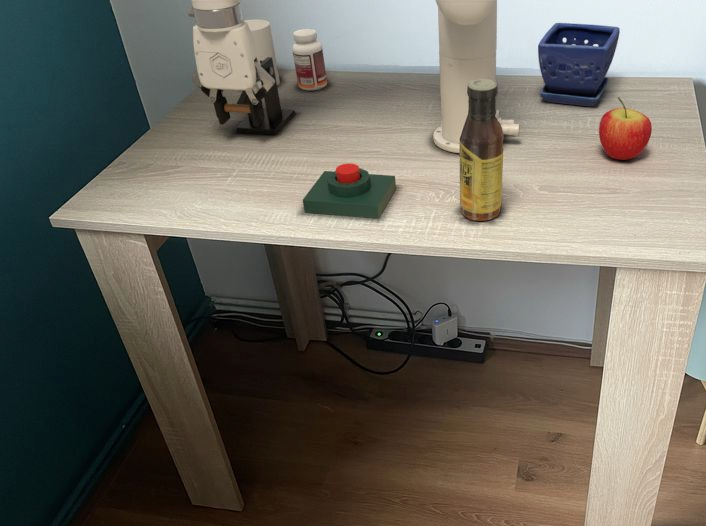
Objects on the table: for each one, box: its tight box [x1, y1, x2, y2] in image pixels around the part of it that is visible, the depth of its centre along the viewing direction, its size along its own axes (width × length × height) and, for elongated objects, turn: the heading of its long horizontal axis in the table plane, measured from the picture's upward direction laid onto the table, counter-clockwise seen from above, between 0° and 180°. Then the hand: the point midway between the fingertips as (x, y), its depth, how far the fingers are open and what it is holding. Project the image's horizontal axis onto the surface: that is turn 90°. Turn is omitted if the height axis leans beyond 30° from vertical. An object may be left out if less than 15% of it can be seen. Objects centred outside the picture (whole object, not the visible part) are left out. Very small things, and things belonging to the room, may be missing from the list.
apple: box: [598, 96, 653, 161], centre depth 120 cm, size 8×8×10 cm
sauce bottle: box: [459, 79, 504, 222], centre depth 104 cm, size 6×6×20 cm
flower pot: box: [537, 22, 621, 107], centre depth 141 cm, size 13×13×12 cm
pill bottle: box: [291, 28, 328, 92], centre depth 151 cm, size 6×6×11 cm
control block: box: [302, 167, 397, 219], centre depth 114 cm, size 12×10×4 cm
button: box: [335, 162, 360, 183], centre depth 112 cm, size 4×4×2 cm
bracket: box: [235, 57, 297, 136], centre depth 136 cm, size 10×8×12 cm
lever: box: [224, 60, 262, 114], centre depth 131 cm, size 12×5×2 cm, turn 167°
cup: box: [243, 19, 281, 88], centre depth 153 cm, size 8×8×12 cm
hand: (241, 121), depth 130 cm, fingers open, 5 cm apart
